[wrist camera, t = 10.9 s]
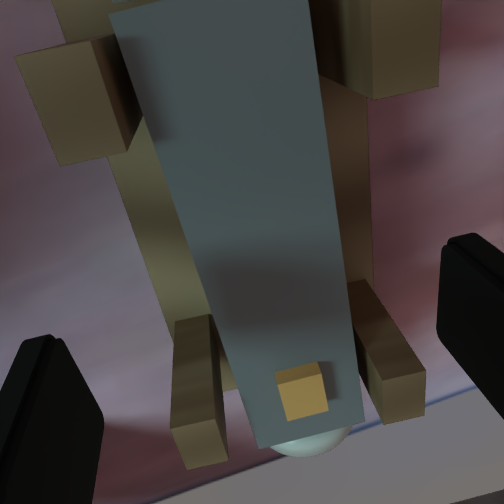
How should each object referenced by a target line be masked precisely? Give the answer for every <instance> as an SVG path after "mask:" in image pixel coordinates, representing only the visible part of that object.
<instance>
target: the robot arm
mask: <svg viewBox="0 0 504 504" xmlns="http://www.w3.org/2000/svg"><path fill="white" fill-rule="evenodd" d="M436 330H437V334H438V337H439V339H440V341H441V342H442V344H443V345H444V346H445V347H446V349H447V350H448V351H449V352H450V354H451V355H452V356H453V357H454V359H455V360H456V361H457V362H458V364H459V365H460V366H461V367H462V369H463V370H464V371H465V372H466V373H467V375H468V376H469V377H470V378H471V380H472V381H473V382H474V383H475V385H476V386H477V387H478V388H479V390H480V391H481V392H482V393H483V394H484V396H485V397H486V398H487V400H488V401H489V402H490V403H491V405H492V406H493V407H494V408H495V410H496V411H497V412H498V413H499V414H500V416H501V417H502V418H503V419H504V253H503V252H501V251H500V250H499V249H497V248H496V247H495V246H493V245H492V244H491V243H489V242H488V241H487V240H485V239H484V238H483V237H481V236H480V235H478V234H476V233H469V234H465V235H460V236H456V237H452V238H450V239H449V240H448V242H447V245H444V246H443V247H442V250H441V263H440V278H439V293H438V308H437V323H436ZM103 430H104V418H103V414H102V411H101V409H100V407H99V406H98V404H97V402H96V400H95V398H94V396H93V394H92V393H91V391H90V389H89V387H88V385H87V383H86V382H85V380H84V378H83V376H82V374H81V372H80V370H79V369H78V367H77V365H76V363H75V361H74V359H73V357H72V356H71V354H70V352H69V350H68V348H67V346H66V344H65V343H64V341H63V340H62V339H61V338H58V339H55V337H54V336H52V335H50V334H48V335H43V336H39V337H35V338H31V339H27V340H24V341H23V342H22V344H21V346H20V348H19V350H18V352H17V355H16V357H15V359H14V361H13V364H12V366H11V368H10V370H9V373H8V375H7V377H6V379H5V382H4V384H3V386H2V388H1V391H0V504H92V499H93V493H94V487H95V481H96V474H97V468H98V462H99V456H100V449H101V443H102V437H103ZM451 504H504V489H503V490H500V491H496V492H492V493H489V494H485V495H481V496H477V497H474V498H470V499H466V500H462V501H459V502H455V503H451Z"/></svg>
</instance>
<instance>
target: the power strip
mask: <svg viewBox="0 0 504 504" xmlns="http://www.w3.org/2000/svg"><path fill="white" fill-rule="evenodd" d="M129 1H134V0H112V2H113V3H122V2H129ZM108 15H109V18H110V21H111V24H112V27H113V29H114V32H115V35H116V38H117V41H118V44H119V47H120V50H121V52H122V55H123V58H124V61H125V64H126V67H127V70H128V73H129V76H130V78H131V81H132V84H133V87H134V90H135V93H136V96H137V99H138V102H139V104H140V107H141V110H142V113H143V116H144V119H145V122H146V125H147V128H148V130H149V133H150V136H151V139H152V142H153V145H154V148H155V151H156V154H157V156H158V159H159V162H160V165H161V168H162V171H163V174H164V177H165V180H166V182H167V185H168V188H169V191H170V194H171V197H172V200H173V203H174V205H175V208H176V211H177V214H178V217H179V220H180V223H181V226H182V229H183V231H184V234H185V237H186V240H187V243H188V246H189V249H190V252H191V255H192V257H193V260H194V263H195V266H196V269H197V272H198V275H199V278H200V281H201V283H202V286H203V289H204V292H205V295H206V298H207V301H208V304H209V307H210V309H211V312H212V315H213V318H214V321H215V324H216V327H217V330H218V332H219V335H220V338H221V341H222V344H223V347H224V350H225V353H226V356H227V358H228V361H229V364H230V367H231V370H232V373H233V376H234V379H235V382H236V384H237V387H238V390H239V393H240V396H241V399H242V402H243V405H244V408H245V410H246V413H247V416H248V419H249V422H250V425H251V428H252V431H253V434H254V436H255V439H256V442H257V445H258V448H259V449H263V448H267V447H270V448H272V449H273V450H275V451H277V452H279V453H281V454H284V455H287V456H292V457H311V456H317V455H320V454H323V453H325V452H327V451H329V450H331V449H333V448H334V447H336V446H337V445H338V444H340V443H341V442H342V441H343V440H344V438H345V437H346V436H347V435H348V433H349V432H350V430H351V428H352V426H353V425H355V424H359V423H362V422H365V417H364V409H363V402H362V394H361V387H360V380H359V372H358V365H357V357H356V350H355V343H354V335H353V328H352V321H351V313H350V306H349V298H348V291H347V284H346V276H345V269H344V261H343V254H342V247H341V239H340V232H339V225H338V217H337V210H336V202H335V195H334V188H333V180H332V173H331V165H330V158H329V151H328V143H327V136H326V129H325V121H324V114H323V106H322V99H321V92H320V84H319V77H318V69H317V62H316V55H315V47H314V40H313V33H312V25H311V18H310V10H309V3H308V0H161V1H157V2H154V3H150V4H146V5H142V6H138V7H134V8H131V9H127V10H123V11H119V12H115V13H111V14H108Z"/></svg>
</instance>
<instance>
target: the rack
mask: <svg viewBox="0 0 504 504" xmlns="http://www.w3.org/2000/svg"><path fill="white" fill-rule="evenodd" d="M157 1H161V0H134V1H129V2H122V3H113V2H112V0H52V3H53V6H54V9H55V12H56V15H57V17H58V20H59V23H60V26H61V29H62V31H63V34H64V37H65V40H66V44H62V45H58V46H54V47H50V48H46V49H42V50H38V51H34V52H30V53H26V54H22V55H18V56H14V58H15V60H16V63H17V65H18V67H19V70H20V72H21V75H22V77H23V79H24V82H25V84H26V87H27V89H28V91H29V94H30V96H31V99H32V101H33V103H34V106H35V108H36V111H37V113H38V115H39V118H40V120H41V122H42V125H43V127H44V130H45V132H46V134H47V137H48V139H49V142H50V144H51V146H52V149H53V151H54V154H55V156H56V158H57V161H58V163H59V165H60V166H64V165H69V164H74V163H79V162H83V161H88V160H93V159H98V158H102V157H107V158H108V161H109V163H110V166H111V169H112V172H113V175H114V177H115V180H116V183H117V186H118V189H119V191H120V194H121V197H122V200H123V203H124V206H125V208H126V211H127V214H128V217H129V220H130V222H131V225H132V228H133V231H134V234H135V236H136V239H137V242H138V245H139V248H140V250H141V253H142V256H143V259H144V262H145V264H146V267H147V270H148V273H149V276H150V279H151V281H152V284H153V287H154V290H155V293H156V295H157V298H158V301H159V304H160V307H161V309H162V312H163V315H164V318H165V321H166V323H167V326H168V329H169V332H170V335H171V338H172V340H173V343H174V348H173V370H172V392H171V413H170V431H171V433H172V436H173V438H174V440H175V443H176V445H177V448H178V450H179V452H180V455H181V457H182V460H183V462H184V464H185V467H186V469H187V470H190V469H195V468H199V467H203V466H208V465H212V464H216V463H221V462H225V461H229V458H228V447H227V435H226V424H225V413H224V402H223V392H224V391H229V390H233V389H237V388H238V387H237V384H236V382H235V379H234V376H233V373H232V370H231V367H230V364H229V361H228V358H227V356H226V353H225V350H224V347H223V344H222V341H221V338H220V335H219V332H218V330H217V327H216V324H215V321H214V318H213V315H212V312H211V309H210V307H209V304H208V301H207V298H206V295H205V292H204V289H203V286H202V283H201V281H200V278H199V275H198V272H197V269H196V266H195V263H194V260H193V257H192V255H191V252H190V249H189V246H188V243H187V240H186V237H185V234H184V231H183V229H182V226H181V223H180V220H179V217H178V214H177V211H176V208H175V205H174V203H173V200H172V197H171V194H170V191H169V188H168V185H167V182H166V180H165V177H164V174H163V171H162V168H161V165H160V162H159V159H158V156H157V154H156V151H155V148H154V145H153V142H152V139H151V136H150V133H149V130H148V128H147V125H146V122H145V119H144V116H143V113H142V110H141V107H140V104H139V102H138V99H137V96H136V93H135V90H134V87H133V84H132V81H131V78H130V76H129V73H128V70H127V67H126V64H125V61H124V58H123V55H122V52H121V50H120V47H119V44H118V41H117V38H116V35H115V32H114V29H113V27H112V24H111V21H110V18H109V15H108V14H111V13H115V12H119V11H123V10H127V9H131V8H134V7H138V6H142V5H146V4H150V3H154V2H157ZM308 3H309V10H310V18H311V25H312V33H313V40H314V47H315V55H316V62H317V69H318V77H319V84H320V92H321V99H322V106H323V114H324V121H325V129H326V136H327V143H328V151H329V158H330V165H331V173H332V180H333V188H334V195H335V202H336V210H337V217H338V225H339V232H340V239H341V247H342V254H343V261H344V269H345V276H346V284H347V291H348V298H349V306H350V313H351V321H352V328H353V335H354V343H355V350H356V357H357V365H358V372H359V374H360V376H361V378H362V380H363V383H364V385H365V387H366V389H367V391H368V393H369V395H370V397H371V399H372V402H373V404H374V406H375V408H376V410H377V412H378V414H379V416H380V419H381V421H382V423H383V425H386V424H390V423H394V422H399V421H403V420H407V419H412V418H416V417H420V416H424V412H425V388H426V370H425V368H424V367H423V365H422V364H421V362H420V361H419V359H418V357H417V356H416V354H415V353H414V351H413V350H412V348H411V347H410V345H409V344H408V342H407V341H406V339H405V338H404V336H403V335H402V333H401V332H400V330H399V329H398V327H397V326H396V324H395V323H394V321H393V320H392V318H391V317H390V315H389V314H388V312H387V311H386V309H385V308H384V306H383V305H382V303H381V302H380V300H379V299H378V297H377V296H376V294H375V293H374V274H373V247H372V221H371V195H370V169H369V143H368V117H367V97H368V98H370V99H372V100H377V99H382V98H386V97H391V96H396V95H401V94H405V93H410V92H415V91H420V90H424V89H429V88H434V87H438V79H439V56H440V32H441V8H442V0H308Z"/></svg>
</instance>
